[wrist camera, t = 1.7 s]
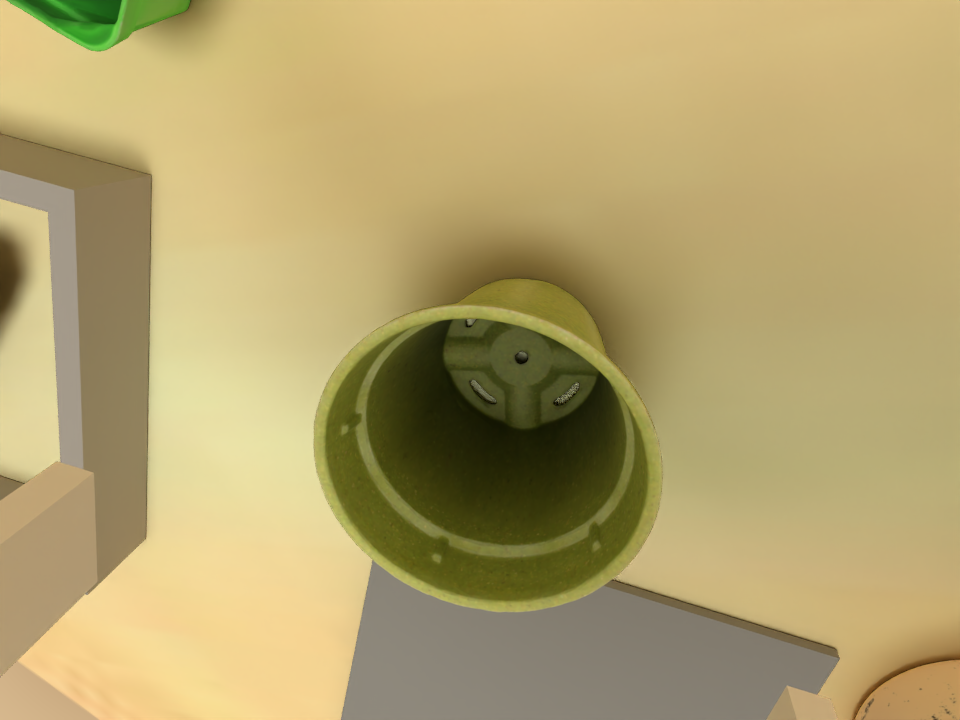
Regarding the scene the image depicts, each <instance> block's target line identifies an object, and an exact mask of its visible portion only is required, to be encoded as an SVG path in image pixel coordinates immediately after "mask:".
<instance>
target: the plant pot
mask: <svg viewBox="0 0 960 720" xmlns="http://www.w3.org/2000/svg"><path fill="white" fill-rule="evenodd" d="M466 319H477V320H476V321H475V322H474V323H473V325H472V327H466V323H465V320H466ZM518 352H526V353H527V354H528V360H527V362H526V363H523V364H519V363H517V362H516V360H515V355H516V354H518ZM470 380H476V381H477V383H478V384H480V386H481V387H482V388H483V389H484V390H485V391H486V392H487V393H488V394H489V395H491V396H493V397H494V398H495V399H496V401H497V403H496V404H490V403H487V402H486V401H484V400H482V399H481V398H480V397H479V396H478V395H477V394H476V393H475V392H474V391H473V389H472V387H471V385H470ZM575 382H578V383H579V388H580V389H579V390H578V392H577V393H576V394H575V395H574V396H573V397H572V398H571V399H570V400H569V401H568V402H567V403H565V404H563V405H558V406H555V405H554V404H553V402H554V401H555V400H556V399H557V398H558V397H560V396H561V395H563V394H565V393H566V392H567V391H568V390H569V389H570V388H571V387H572V386H573V385H574V383H575ZM314 457H315V464H316V469H317V474H318V477H319V480H320V483H321V487H322V489H323V492H324V495H325V497H326V500H327V502H328V504H329V505H330V507H331V509H332V511H333V513H334V515H335V516H336V518H337V520H338V521H339V522H340V524H341V525H342V527H343V528H344V530H345V531H346V532H347V534H348V535H349V536H350V537H351V538H352V540H353V541H354V542H355V543H356V545H357V546H359V547H360V548H361V550H362V551H364V552H365V553H366V554H367V555H368V556H369V557H371V558H372V559H373V560H374V561H375V562H376V563H377V564H378V565H379V566H381V567H382V568H383V569H385V570H386V571H387V572H389V573H390V574H391V575H393V576H394V577H395V578H397V579H399V580H400V581H402V582H403V583H405V584H407V585H409V586H411V587H412V588H414V589H416V590H419V591H421V592H422V593H425V594H427V595H431V596H433V597H436V598H438V599H440V600H443V601H446V602H450V603H453V604H456V605H460V606H464V607H469V608H475V609H482V610H486V611H493V612H525V611H535V610H541V609H546V608H551V607H555V606H559V605H562V604H565V603H568V602H572V601H575V600H578V599H580V598H582V597H585V596H587V595H589V594H591V593H593V592H594V591H596V590H597V589H599V588H600V587H602V586H603V585H605V584H606V583H608V582H609V581H611V580H612V579H613V578H614V577H616V576H617V575H618V574H619V573H621V572H622V571H623V570H624V569H625V568H626V566H627V565H628V564H629V563H630V562H631V561H632V560H633V559H634V557H635V556H636V555H637V553H638V552H639V551H640V549H641V547H642V546H643V544H644V543H645V541H646V539H647V537H648V535H649V533H650V531H651V529H652V527H653V524H654V521H655V519H656V516H657V513H658V509H659V505H660V499H661V492H662V457H661V451H660V446H659V441H658V438H657V434H656V431H655V428H654V425H653V422H652V420H651V418H650V415H649V413H648V411H647V409H646V407H645V405H644V403H643V401H642V399H641V398H640V396H639V394H638V393H637V391H636V390H635V388H634V387H633V385H632V384H631V382H630V381H629V380H628V379H627V377H626V376H625V375H624V374H623V372H622V371H621V370H620V369H619V368H618V367H617V366H616V365H615V364H614V363H613V362H612V361H611V360H610V359H609V358H608V357H607V355H606V352H605V348H604V345H603V342H602V339H601V335H600V333H599V330H598V328H597V325H596V324H595V322H594V320H593V318H592V317H591V315H590V314H589V312H588V311H587V310H586V309H585V307H584V306H583V305H582V304H581V303H580V302H579V301H578V300H577V299H576V298H575V297H573V296H572V295H571V294H569V293H568V292H566V291H565V290H563V289H561V288H559V287H558V286H555V285H553V284H550V283H548V282H544V281H540V280H531V279H505V280H498V281H495V282H492V283H489V284H487V285H485V286H483V287H481V288H479V289H477V290H476V291H474V292H473V293H471V294H470V295H468V296H467V297H465V298H464V299H463V300H461V301H460V302H458V303H457V304H448V305H441V306H434V307H430V308H425V309H421V310H418V311H415V312H412V313H409V314H406V315H403V316H401V317H399V318H396V319H394V320H392V321H390V322H389V323H387V324H385V325H383V326H382V327H380V328H378V329H376V330H375V331H373V332H372V333H371V334H369V335H368V336H367V337H365V338H364V339H363V340H362V341H360V342H359V343H358V344H357V345H356V346H355V347H354V348H353V349H352V350H351V351H350V352H349V353H348V354H347V355H346V356H345V357H344V359H343V360H342V361H341V362H340V364H339V365H338V366H337V368H336V369H335V371H334V372H333V373H332V375H331V377H330V379H329V381H328V383H327V385H326V387H325V389H324V391H323V394H322V396H321V399H320V402H319V405H318V408H317V412H316V417H315V421H314Z"/></svg>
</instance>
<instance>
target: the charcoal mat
mask: <svg viewBox="0 0 960 720" xmlns="http://www.w3.org/2000/svg"><path fill="white" fill-rule="evenodd" d="M839 659H840V658H839V655H838V653H837V650H836V649H833V648H830V647H827V646H824V645H820V644H817V643H814V642H811V641H807V640H804V639H801V638H798V637H794V636H791V635H788V634H785V633H781V632H778V631H775V630H772V629H768V628H765V627H762V626H759V625H755V624H752V623H749V622H746V621H742V620H739V619H736V618H733V617H729V616H726V615H723V614H720V613H717V612H713V611H710V610H707V609H704V608H700V607H697V606H694V605H691V604H687V603H684V602H681V601H678V600H674V599H671V598H668V597H665V596H661V595H658V594H655V593H652V592H648V591H645V590H642V589H639V588H635V587H632V586H629V585H626V584H622V583H619V582H616V581H613V580H611V581H609V582H608V583H606V584H605V585H603V586H602V587H600V588H599V589H597V590H596V591H594V592H593V593H591V594H589V595H587V596H585V597H582V598H580V599H578V600H575V601H572V602H568V603H565V604H562V605H559V606H555V607H551V608H546V609H541V610H535V611H525V612H493V611H486V610H482V609H475V608H469V607H464V606H460V605H456V604H453V603H450V602H446V601H443V600H440V599H438V598H436V597H433V596H431V595H427V594H425V593H422V592H421V591H419V590H416V589H414V588H412V587H411V586H409V585H407V584H405V583H403V582H402V581H400V580H399V579H397V578H395V577H394V576H393V575H391V574H390V573H389V572H387V571H386V570H385V569H383V568H382V567H381V566H379V565H378V564H377V563H376V562H375V561H374V560H373V562H372V567H371V572H370V577H369V582H368V587H367V592H366V597H365V602H364V607H363V612H362V617H361V622H360V627H359V632H358V637H357V642H356V647H355V652H354V657H353V662H352V667H351V672H350V677H349V682H348V687H347V692H346V697H345V702H344V707H343V712H342V717H341V720H766V719H767V717H768V716H769V714H770V712H771V711H772V709H773V708H774V706H775V704H776V703H777V701H778V699H779V698H780V696H781V694H782V693H783V691H784V689H785V688H786V686H790V687H793V688H796V689H800V690H803V691H806V692H809V693H813V694H816V695H817V694H818V693H819V691H820V689H821V688H822V686H823V685H824V683H825V681H826V680H827V678H828V677H829V675H830V673H831V672H832V670H833V669H834V667H835V666H836V664H837V662H838V661H839Z"/></svg>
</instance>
